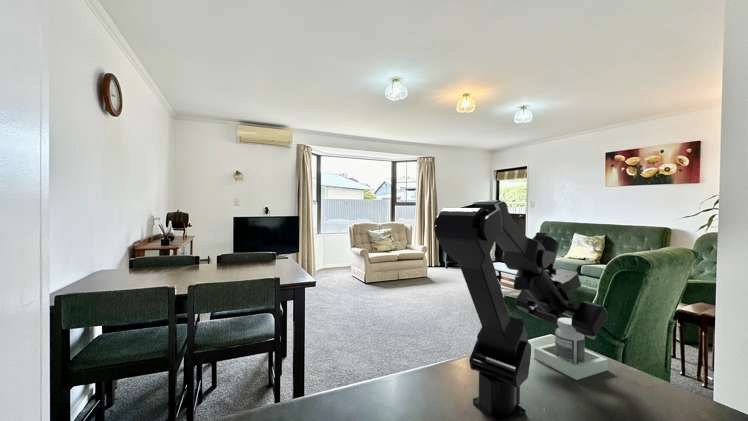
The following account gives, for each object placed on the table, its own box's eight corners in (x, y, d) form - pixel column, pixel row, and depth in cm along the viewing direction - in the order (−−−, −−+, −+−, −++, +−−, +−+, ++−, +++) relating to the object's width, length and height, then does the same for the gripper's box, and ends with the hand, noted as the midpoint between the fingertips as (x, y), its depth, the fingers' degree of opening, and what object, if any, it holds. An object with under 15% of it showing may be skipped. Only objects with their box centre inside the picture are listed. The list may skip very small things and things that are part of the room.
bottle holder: (576, 380, 65) (576, 368, 65) (534, 358, 75) (534, 347, 75) (607, 370, 69) (607, 359, 69) (563, 350, 79) (563, 340, 78)
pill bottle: (575, 359, 74) (576, 317, 74) (590, 371, 69) (590, 326, 68) (550, 358, 75) (550, 316, 75) (562, 370, 69) (563, 325, 69)
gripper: (602, 266, 62) (636, 315, 66) (523, 253, 79) (554, 292, 83) (575, 311, 59) (612, 359, 63) (499, 287, 76) (532, 326, 80)
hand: (573, 330), depth 72 cm, fingers open, 9 cm apart
